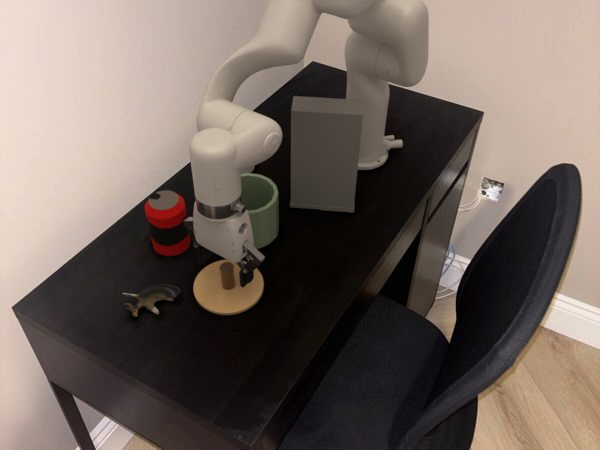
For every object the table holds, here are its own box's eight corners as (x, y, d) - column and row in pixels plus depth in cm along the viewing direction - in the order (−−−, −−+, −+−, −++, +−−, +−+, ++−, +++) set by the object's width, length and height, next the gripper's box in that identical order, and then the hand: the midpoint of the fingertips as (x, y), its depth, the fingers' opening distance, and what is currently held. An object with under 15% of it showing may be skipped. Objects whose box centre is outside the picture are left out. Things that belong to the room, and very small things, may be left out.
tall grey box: (354, 194, 134) (364, 97, 117) (353, 213, 130) (363, 115, 113) (292, 190, 135) (293, 93, 118) (289, 209, 131) (290, 111, 113)
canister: (273, 208, 131) (272, 170, 124) (283, 247, 123) (282, 209, 115) (218, 215, 129) (213, 177, 122) (224, 255, 121) (219, 216, 113)
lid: (258, 259, 120) (257, 237, 116) (269, 311, 111) (268, 289, 106) (191, 268, 118) (187, 246, 114) (196, 322, 109) (192, 300, 104)
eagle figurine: (148, 333, 105) (188, 301, 109) (124, 303, 103) (166, 270, 106) (136, 323, 112) (175, 293, 115) (114, 294, 109) (154, 264, 113)
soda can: (168, 226, 126) (159, 182, 118) (198, 238, 124) (191, 194, 116) (145, 249, 122) (135, 205, 113) (176, 262, 119) (168, 218, 111)
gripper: (275, 207, 98) (276, 278, 109) (193, 169, 104) (202, 239, 116) (247, 234, 93) (251, 305, 105) (163, 192, 100) (176, 263, 111)
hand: (225, 270), depth 110 cm, fingers open, 9 cm apart
